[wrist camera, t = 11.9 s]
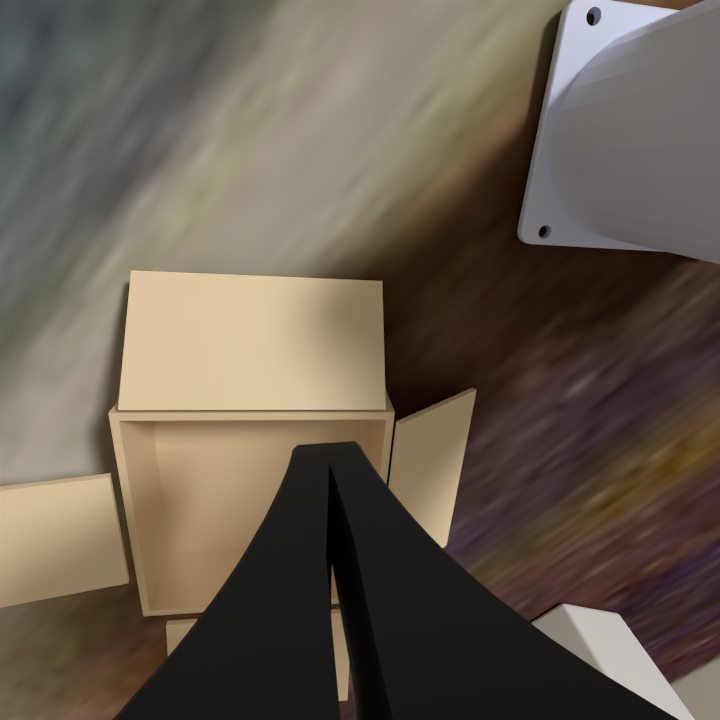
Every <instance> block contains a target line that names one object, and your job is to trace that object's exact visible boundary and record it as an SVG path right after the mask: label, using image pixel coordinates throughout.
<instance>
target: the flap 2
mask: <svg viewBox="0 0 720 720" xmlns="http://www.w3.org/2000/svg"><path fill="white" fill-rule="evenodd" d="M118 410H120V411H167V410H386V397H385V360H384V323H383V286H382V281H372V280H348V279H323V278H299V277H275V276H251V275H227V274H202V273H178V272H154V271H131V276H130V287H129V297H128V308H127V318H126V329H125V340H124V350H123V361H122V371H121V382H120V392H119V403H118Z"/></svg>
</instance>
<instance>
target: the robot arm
mask: <svg viewBox="0 0 720 720" xmlns="http://www.w3.org/2000/svg"><path fill="white" fill-rule="evenodd" d="M588 11H591V12H592V13H593V15H594V22H593V24H592V26H590V25H588V23H587V21H586V17H587V13H588ZM544 225H545V227H546V233H545V235H543V236H542V237H540V236H539V230H540V228H541V227H542V226H544ZM517 235H518V238H519V239H520V240H521V241H522V242H525V243H528V244H537V245H555V246H573V247H591V248H608V249H626V250H644V251H661V252H669V253H674V254H678V255H682V256H687V257H691V258H695V259H700V260H704V261H708V262H713V263H717V264H720V0H705V1H703V2H700V3H698V4H695V5H693V6H690V7H688V8H685V9H683V10H680V11H679V10H672V9H665V8H659V7H652V6H645V5H638V4H631V3H624V2H618V1H611V0H572V1H571V2H569V3H567V5H566V6H565V7H564V9H563V11H562V14H561V17H560V22H559V27H558V32H557V36H556V41H555V46H554V51H553V56H552V61H551V66H550V71H549V76H548V81H547V86H546V91H545V96H544V101H543V106H542V110H541V115H540V120H539V125H538V130H537V135H536V140H535V145H534V150H533V155H532V160H531V165H530V170H529V175H528V180H527V184H526V189H525V194H524V199H523V204H522V209H521V214H520V219H519V224H518V229H517ZM332 567H333V573H334V578H335V584H336V590H337V595H338V601H339V607H340V612H341V618H342V624H343V629H344V635H345V640H346V646H347V652H348V657H349V663H350V668H351V674H352V681H353V688H354V695H355V702H356V713H357V720H679V719H677V718H675V717H674V716H672V715H670V714H669V713H667V712H666V711H664V710H662V709H661V708H659V707H657V706H656V705H654V704H652V703H651V702H649V701H647V700H646V699H644V698H642V697H641V696H639V695H637V694H636V693H634V692H633V691H631V690H629V689H628V688H626V687H624V686H623V685H621V684H619V683H618V682H616V681H614V680H613V679H611V678H609V677H608V676H606V675H605V674H603V673H602V672H600V671H598V670H597V669H595V668H594V667H592V666H591V665H589V664H588V663H587V662H585V661H584V660H582V659H581V658H579V657H578V656H576V655H575V654H573V653H572V652H570V651H569V650H567V649H566V648H564V647H563V646H562V645H560V644H559V643H557V642H556V641H554V640H553V639H551V638H550V637H549V636H547V635H546V634H544V633H543V632H542V631H541V630H539V629H538V628H537V627H535V626H534V625H533V624H531V623H530V622H529V621H527V620H526V619H525V618H524V617H522V616H521V615H520V614H518V613H517V612H516V611H514V610H513V609H512V608H510V607H509V606H508V605H507V604H505V603H504V602H503V601H501V600H500V599H499V598H497V597H496V596H495V595H494V594H493V593H491V592H490V591H489V590H488V589H487V588H486V587H484V586H483V585H482V584H481V583H480V582H479V581H477V580H476V579H475V578H474V577H473V576H472V575H470V574H469V573H468V572H467V571H466V570H465V569H464V568H463V567H462V566H461V565H460V564H458V563H457V562H456V561H455V560H454V559H453V558H452V557H451V556H450V555H449V554H448V553H447V552H446V551H445V550H444V549H443V548H442V547H441V546H440V545H439V544H438V543H437V542H436V541H435V540H434V539H433V538H432V537H431V536H430V535H429V534H428V533H427V532H426V531H425V530H424V529H423V527H422V526H421V525H420V524H419V523H418V522H417V521H416V520H415V519H414V518H413V516H412V515H411V514H410V513H409V512H408V511H407V510H406V508H405V507H404V506H403V505H402V504H401V502H400V501H399V500H398V499H397V497H396V496H395V495H394V494H393V492H392V491H391V490H390V489H389V487H388V486H387V485H386V484H385V482H384V481H383V480H382V478H381V477H380V475H379V474H378V473H377V471H376V470H375V468H374V467H373V465H372V464H371V463H370V461H369V460H368V458H367V456H366V455H365V453H364V452H363V450H362V448H361V446H360V445H359V444H358V443H357V442H356V441H348V442H334V443H319V444H304V445H297V446H296V447H295V448H294V449H293V450H292V455H291V459H290V462H289V465H288V468H287V471H286V473H285V476H284V478H283V480H282V483H281V485H280V488H279V490H278V492H277V494H276V496H275V498H274V500H273V502H272V504H271V506H270V508H269V510H268V512H267V514H266V516H265V518H264V520H263V522H262V523H261V525H260V527H259V528H258V530H257V532H256V534H255V535H254V537H253V539H252V541H251V542H250V544H249V546H248V548H247V549H246V551H245V553H244V554H243V556H242V557H241V559H240V560H239V562H238V564H237V565H236V567H235V568H234V570H233V571H232V573H231V574H230V576H229V577H228V579H227V580H226V582H225V583H224V584H223V586H222V587H221V589H220V590H219V592H218V593H217V594H216V596H215V597H214V599H213V600H212V601H211V603H210V604H209V605H208V607H207V608H206V609H205V611H204V612H203V613H202V614H201V616H200V617H199V618H198V620H197V621H196V622H195V624H194V625H193V626H192V628H191V629H190V630H189V631H188V633H187V634H186V635H185V637H184V638H183V639H182V640H181V642H180V643H179V644H178V645H177V647H176V648H175V649H174V650H173V651H172V653H171V654H170V655H169V656H168V657H167V659H166V660H165V661H164V662H163V663H162V664H161V666H160V667H159V668H158V669H157V670H156V671H155V672H154V674H153V675H152V676H151V677H150V678H149V679H148V680H147V681H146V683H145V684H144V685H143V686H142V687H141V688H140V689H139V690H138V692H137V693H136V694H135V695H134V696H133V697H132V698H131V699H130V701H129V702H128V703H127V704H126V705H125V706H124V707H123V708H122V710H121V711H120V712H119V713H118V714H117V715H116V716H115V717H114V719H113V720H341V719H340V708H339V698H338V687H337V676H336V665H335V654H334V643H333V632H332V621H331V589H332Z"/></svg>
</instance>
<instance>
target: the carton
mask: <svg viewBox="0 0 720 720" xmlns="http://www.w3.org/2000/svg"><path fill="white" fill-rule="evenodd" d="M385 397H386V410H167V411H120V410H118V403H119V400H118V401H117V402H116V404H115V405H114V406H113V408H112V409H111V410H110V412H109V413H108V415H109V420H110V426H111V432H112V438H113V444H114V450H115V455H116V461H117V467H118V473H119V479H120V484H121V490H122V496H123V502H124V508H125V513H126V519H127V525H128V531H129V537H130V542H131V548H132V554H133V560H134V566H135V571H136V577H137V583H138V589H139V595H140V600H141V606H142V612H143V616H156V615H171V614H187V613H202V612H204V611H205V609H206V608H207V607H208V605H209V604H210V603H211V601H212V600H213V599H214V597H215V596H216V594H217V593H218V592H219V590H220V589H221V587H222V586H223V584H224V583H225V582H226V580H227V579H228V577H229V576H230V574H231V573H232V571H233V570H234V568H235V567H236V565H237V564H238V562H239V560H240V559H241V557H242V556H243V554H244V553H245V551H246V549H247V548H248V546H249V544H250V542H251V541H252V539H253V537H254V535H255V534H256V532H257V530H258V528H259V527H260V525H261V523H262V522H263V520H264V518H265V516H266V514H267V512H268V510H269V508H270V506H271V504H272V502H273V500H274V498H275V496H276V494H277V492H278V490H279V488H280V485H281V483H282V480H283V478H284V476H285V473H286V471H287V468H288V465H289V462H290V459H291V455H292V450H293V449H294V448H295V447H296V446H297V445H304V444H319V443H334V442H348V441H356V442H357V443H358V444H359V445H360V446H361V448H362V450H363V452H364V453H365V455H366V456H367V458H368V460H369V461H370V463H371V464H372V465H373V467H374V468H375V470H376V471H377V473H378V474H379V475H380V477H381V478H382V480H383V481H384V482H385V484H387V475H388V467H389V458H390V450H391V441H392V433H393V424H394V415H395V412H394V409H393V407H392V404H391V401H390V399H389V396H388V394H387V391H386V389H385ZM331 604H339V601H338V595H337V590H336V584H335V578H334V573H333V567H332V589H331Z"/></svg>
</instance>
